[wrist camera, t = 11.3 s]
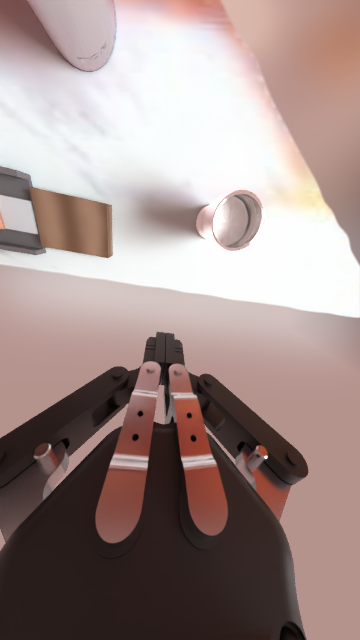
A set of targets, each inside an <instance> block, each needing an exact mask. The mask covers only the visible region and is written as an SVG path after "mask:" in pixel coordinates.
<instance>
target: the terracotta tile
mask: <svg viewBox="0 0 360 640" xmlns="http://www.w3.org/2000/svg"><path fill="white" fill-rule="evenodd" d="M0 229H6V228H5V226H4V222H3V219H2V216H1V213H0Z"/></svg>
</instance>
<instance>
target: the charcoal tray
mask: <svg viewBox="0 0 360 640" xmlns="http://www.w3.org/2000/svg"><path fill="white" fill-rule="evenodd" d="M29 187H32V182H31V178H30V175H28V174H26V173H23V172H20V171H17V170H13V169H9V168H4V167H0V195H5V196H10V197H15V198H20V199H25V200H30V201H32V198H31V193H30V188H29ZM0 249H3V250H9V251H15V252H21V253H27V254H33V255H38V254H42V253H46V251H45V247H43V246H42V245H41V240H40V235H39V234H33V233H28V232H22V231H17V230H11V229H0Z"/></svg>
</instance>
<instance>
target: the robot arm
mask: <svg viewBox="0 0 360 640" xmlns="http://www.w3.org/2000/svg"><path fill="white" fill-rule="evenodd" d="M27 2H28V3H29V5H30V6H31V8H32V10H33V11H34V13H35V15H36V16H37V18H38V19H39V21H40V22H41V24H42V26H43V27H44V29H45V30H46V32H47V33H48V35H49V37H50V38H51V40H52V41H53V43H54V45H55V46H56V48H57V49H58V50H59V52H60V53H61V54H62V55H63V57H64V58H65V59H66V60H67V61H69V62H70V63H71V64H72V65H74V66H75V67H77V68H78V69H81V70H84V71H95V70H97V69H100V68H101V67H102V66H104V65H105V64H106V62H107V61H108V59H109V58H110V56H111V53H112V51H113V48H114V43H115V38H116V14H115V7H114V2H113V0H27ZM160 384H161V385H164V394H163V397H164V414H165V424H159V423H156V422H154V416H155V409H156V402H157V393H158V387H159V385H160ZM127 403H129V405H128V408H127V412H126V415H125V418H124V422H123V425H122V426H121V427H119V428H117V429H115V430H114V431H112V432H111V433H110V434H108V435H107V436H106V437H105V438H104V439H103V440H102V441H101V442H100V443H99V444H98V445H97V446H96V447H95V448H94V449H93V450H92V451H91V452H90V453H89V454H88V455H87V456H86V457H85V459H83V461H82V462H81V463H80V464H79V465H78V466H77V467H76V468H75V469H74V470H73V471H72V472H71V473H70V474H69V475H68V476H67V477H66V478H65V479H64V480H63V481H62V482H61V483H60V484H59V485H58V486H57V487H56V488H55V489H54V490H53V488H54V486H55V485H56V483H57V482H58V481H59V480H60V479H61V478H62V476H63V475H64V474H65V472H66V470H67V468H68V464H69V456H70V455H72V454H73V453H74V452H75V451H76V450H77V449H78V448H79V447H81V446H82V445H83V444H84V443H85V442H86V441H87V440H88V439H89V438H90V437H92V436H93V435H94V434H95V433H96V432H97V431H98V430H99V429H100V428H102V427H103V426H104V425H105V424H106V423H107V422H108V421H109V420H110V419H112V418H113V417H114V416H115V415H116V414H117V413H118V412H119V411H120V410H122V409H123V408H124V407H125V406H126V404H127ZM204 424H205V425H206V427H207V428H208V429H209V430H210V431H211V432H212V433H213V435H214V436H215V437H216V438H217V439H218V440H219V441H220V443H221V444H222V445H223V446H224V447H225V448H226V449H227V451H228V452H229V453H230V454H231V455H232V456H233V457H234V459H235V462H236V466H235V465H234V463H233V462H232V461H231V460H230V458H229V457H228V456H227V455H226V453H225V452H224V451H223V450H222V449H221V447H220V446H219V445H218V444H217V442H216V441H215V440H214V439H213V438H212V437H211V436H210V435H209V434H208V433H207V432H206V429H205V425H204ZM307 475H308V467H307V463H306V461H305V459H304V458H303V456H302V455H301V454H300V453H299V451H298V450H297V449H296V448H294V447H293V446H292V445H291V444H290V443H289V442H288V441H286V440H285V439H284V438H283V437H282V436H281V435H279V434H278V433H277V432H276V431H275V430H274V429H273V428H272V427H270V426H269V425H268V424H267V423H266V422H265V421H264V420H262V419H261V418H260V417H259V416H258V415H257V414H256V413H255V412H253V411H252V410H251V409H250V408H249V407H248V406H247V405H245V404H244V403H243V402H242V401H241V400H240V399H238V398H237V397H236V396H235V395H234V394H233V393H232V392H231V391H229V390H228V389H227V388H226V387H225V386H224V385H223V384H221V383H220V382H219V381H218V380H217V379H216V378H214V377H213V376H212V375H210V374H202V375H200V377H198V376H195V375H193V374H191V373H189V372H188V370H187V369H186V367H185V363H184V355H183V347H182V343H181V342H180V340H174V334H172V333H166V334H165V333H163V332H157V334H156V338H155V337H149V339H148V340H147V342H146V348H145V354H144V360H143V364H142V365H141V367H139V368H138V369H136V370H131V371H128V370H127V369H126V368H124V367H113V368H111V369H110V370H108V371H106V372H105V373H103V374H102V375H100V376H98V377H97V378H96V379H94V380H92V381H91V382H89V383H87V384H86V385H84V386H83V387H81V388H79V389H78V390H76V391H75V392H73V393H72V394H70V395H68V396H67V397H65V398H64V399H62V400H60V401H59V402H57V403H56V404H54V405H52V406H51V407H49V408H48V409H46V410H45V411H43V412H41V413H40V414H38V415H37V416H35V417H33V418H32V419H30V420H29V421H27V422H25V423H24V424H22V425H21V426H19V427H18V428H16V429H14V430H13V431H11V432H10V433H8V434H7V435H5V436H3V437H2V438H0V529H1V532H2V534H3V537H4V540H5V542H6V543H5V545H4V546H3V548H2V549H1V551H0V640H307V639H306V636H305V633H304V629H303V625H302V620H301V616H300V611H299V606H298V600H297V594H296V587H295V576H294V564H293V558H292V554H291V550H290V546H289V543H288V540H287V537H286V535H285V533H284V530H283V528H282V526H281V524H280V522H279V521H280V518H281V515H282V512H283V509H284V506H285V502H286V500H287V497H288V494H289V491H290V488H291V486H293V485H294V484H296V483H297V482H298V481H300V480H302V479H303V478H305V477H306V476H307ZM52 490H53V491H52Z"/></svg>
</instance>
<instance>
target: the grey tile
mask: <svg viewBox="0 0 360 640" xmlns="http://www.w3.org/2000/svg"><path fill="white" fill-rule="evenodd" d="M0 213H1V216H2V219H3V222H4V226H5V228H6V229H11V230H17V231H22V232H28V233H33V234H39V231H38V226H37V221H36V217H35V212H34V207H33V203H32V201H30V200H25V199H20V198H15V197H10V196H5V195H0Z"/></svg>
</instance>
